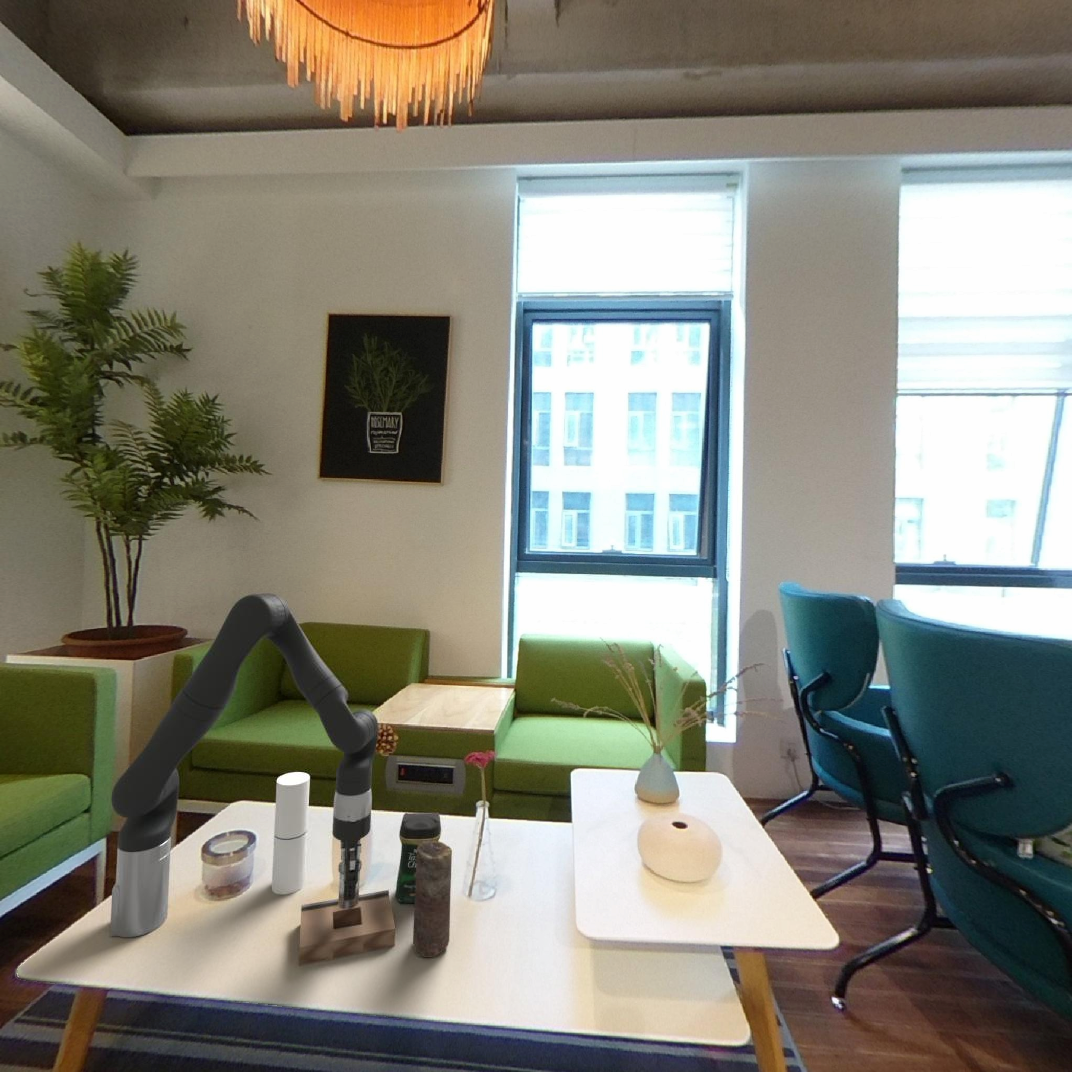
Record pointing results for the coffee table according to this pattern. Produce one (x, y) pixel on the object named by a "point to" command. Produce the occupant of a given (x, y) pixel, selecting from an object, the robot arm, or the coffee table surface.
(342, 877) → the salt shaker
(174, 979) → the coffee table surface
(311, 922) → the jig
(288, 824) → the cylindrical container
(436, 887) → the candle
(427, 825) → the coffee jar
